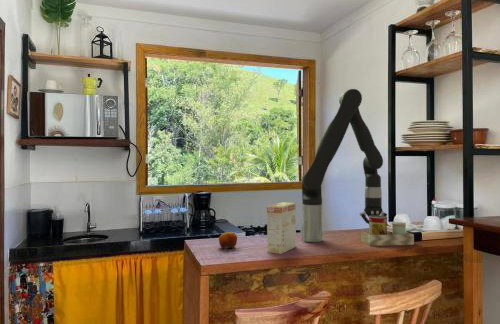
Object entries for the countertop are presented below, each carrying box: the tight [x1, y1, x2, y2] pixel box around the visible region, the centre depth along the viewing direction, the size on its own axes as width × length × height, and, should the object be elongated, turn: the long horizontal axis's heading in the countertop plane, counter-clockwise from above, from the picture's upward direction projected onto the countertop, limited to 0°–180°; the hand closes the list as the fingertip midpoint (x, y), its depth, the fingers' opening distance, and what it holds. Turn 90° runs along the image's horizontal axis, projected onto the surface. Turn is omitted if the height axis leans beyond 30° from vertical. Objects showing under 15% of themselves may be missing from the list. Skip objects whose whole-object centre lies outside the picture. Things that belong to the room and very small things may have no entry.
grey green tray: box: [361, 230, 415, 247], centre depth 169 cm, size 20×10×4 cm, turn 93°
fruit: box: [218, 231, 238, 250], centre depth 161 cm, size 8×8×8 cm
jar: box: [391, 221, 407, 235], centre depth 170 cm, size 6×6×9 cm
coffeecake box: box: [266, 201, 297, 255], centre depth 158 cm, size 15×7×20 cm, turn 149°
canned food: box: [368, 214, 388, 235], centre depth 170 cm, size 8×8×12 cm
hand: (373, 232), depth 175 cm, fingers closed
